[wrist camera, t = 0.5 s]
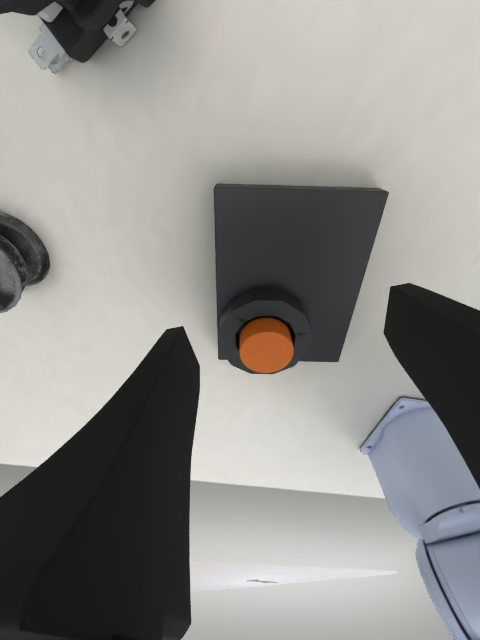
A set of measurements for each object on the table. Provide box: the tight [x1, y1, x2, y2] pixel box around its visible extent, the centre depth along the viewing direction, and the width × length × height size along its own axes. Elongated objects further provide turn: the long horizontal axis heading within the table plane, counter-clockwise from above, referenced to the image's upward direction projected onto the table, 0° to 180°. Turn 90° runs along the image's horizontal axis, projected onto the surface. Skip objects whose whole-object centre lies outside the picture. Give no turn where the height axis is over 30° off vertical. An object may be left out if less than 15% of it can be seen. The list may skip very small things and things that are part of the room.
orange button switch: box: [214, 184, 389, 374], centre depth 19 cm, size 13×10×3 cm
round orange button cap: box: [240, 317, 294, 373], centre depth 19 cm, size 4×4×2 cm
